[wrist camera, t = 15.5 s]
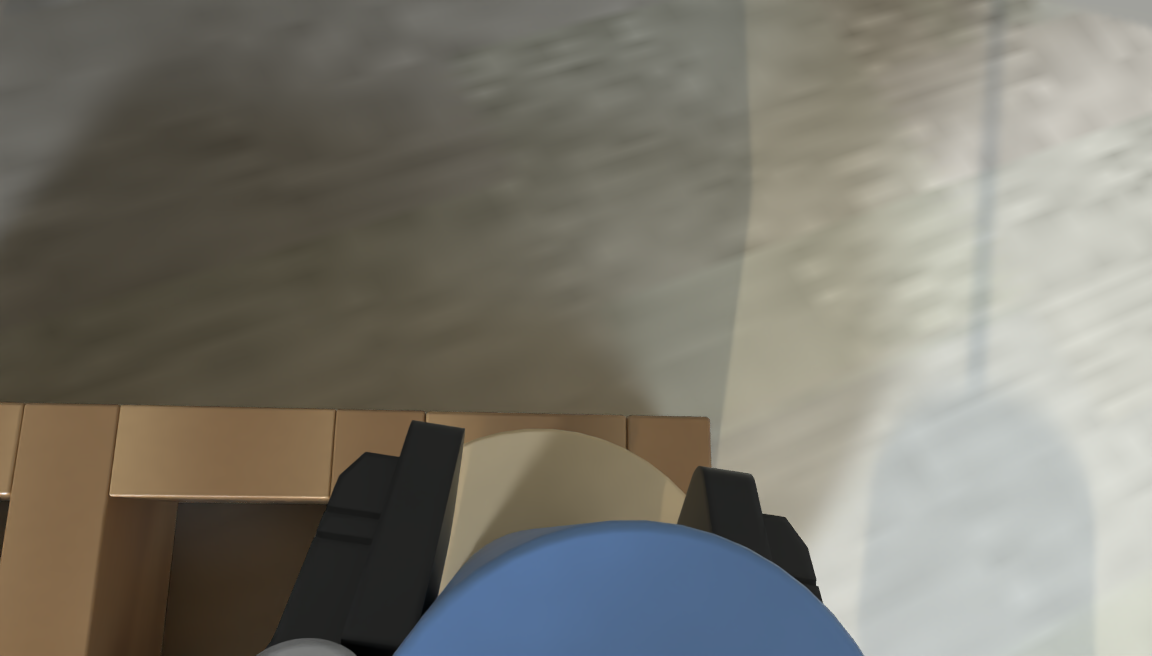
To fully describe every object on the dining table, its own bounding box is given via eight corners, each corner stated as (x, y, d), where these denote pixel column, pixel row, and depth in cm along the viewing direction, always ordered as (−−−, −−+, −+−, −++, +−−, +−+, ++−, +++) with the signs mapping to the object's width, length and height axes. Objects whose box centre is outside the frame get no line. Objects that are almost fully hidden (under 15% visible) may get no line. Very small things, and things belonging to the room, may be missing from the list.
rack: (-233, 784, 18) (-426, 854, 14) (-158, 421, 20) (-311, 394, 16) (677, 765, 20) (723, 822, 16) (670, 436, 22) (710, 416, 18)
